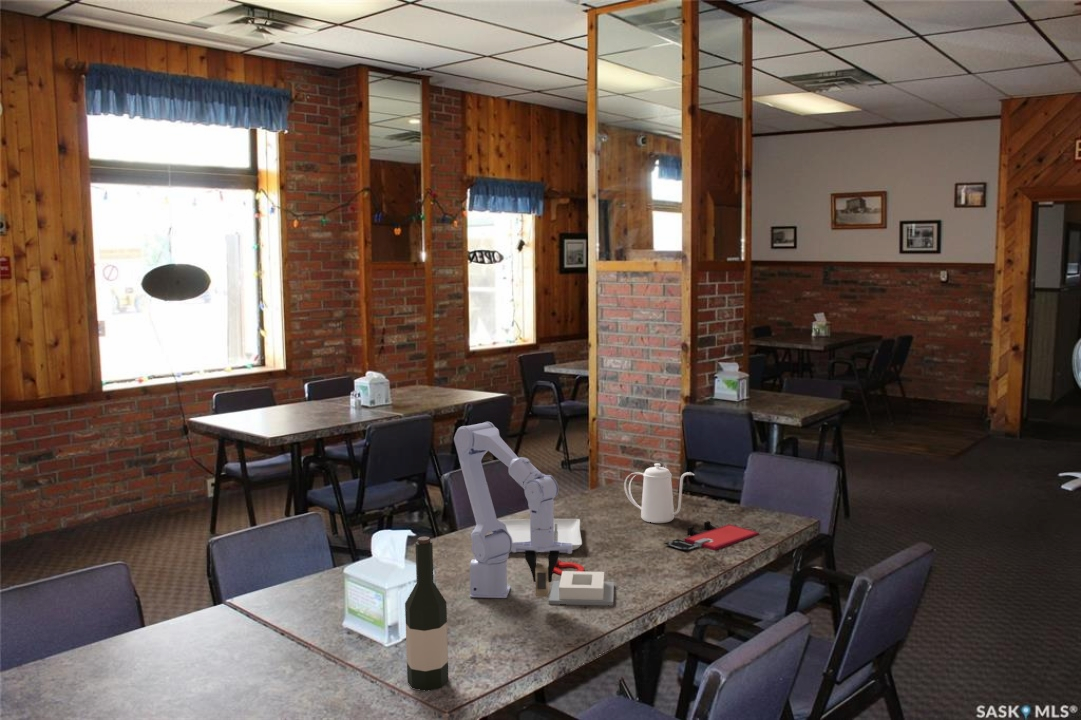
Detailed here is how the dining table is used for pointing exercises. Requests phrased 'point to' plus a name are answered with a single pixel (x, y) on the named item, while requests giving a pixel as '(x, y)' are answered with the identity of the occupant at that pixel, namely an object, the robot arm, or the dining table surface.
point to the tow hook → (561, 564)
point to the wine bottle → (426, 626)
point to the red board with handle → (712, 537)
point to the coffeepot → (657, 494)
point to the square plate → (565, 528)
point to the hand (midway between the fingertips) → (542, 580)
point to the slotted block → (582, 589)
